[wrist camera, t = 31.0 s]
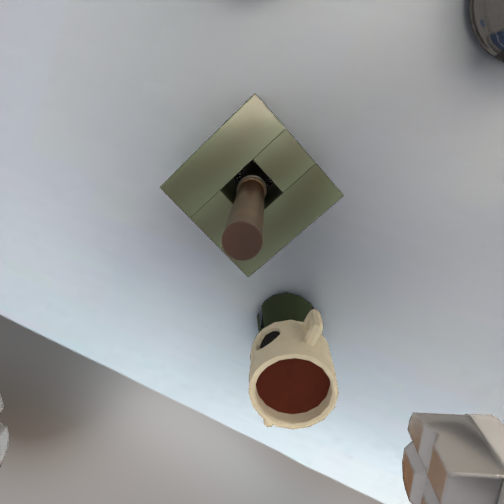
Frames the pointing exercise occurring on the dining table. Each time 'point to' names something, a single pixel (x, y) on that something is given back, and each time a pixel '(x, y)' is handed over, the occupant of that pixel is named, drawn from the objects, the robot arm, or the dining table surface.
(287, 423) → the character mug
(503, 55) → the beverage bottle
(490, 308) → the dining table surface
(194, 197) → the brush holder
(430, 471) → the robot arm
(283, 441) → the dining table surface
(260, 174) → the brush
